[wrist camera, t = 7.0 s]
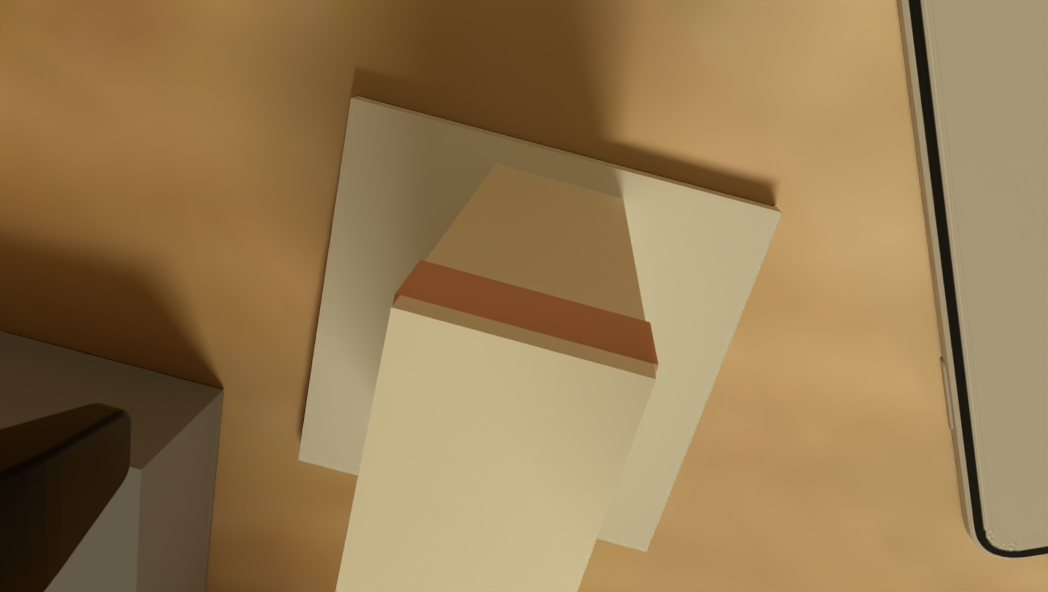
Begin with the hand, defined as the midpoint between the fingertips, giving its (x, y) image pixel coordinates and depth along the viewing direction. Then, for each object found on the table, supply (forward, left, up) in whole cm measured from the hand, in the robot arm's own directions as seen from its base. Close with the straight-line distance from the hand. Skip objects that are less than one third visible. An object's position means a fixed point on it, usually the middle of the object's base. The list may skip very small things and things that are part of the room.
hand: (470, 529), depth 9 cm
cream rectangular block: (0, 0, -6) cm, 6 cm away
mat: (0, 0, -6) cm, 6 cm away
